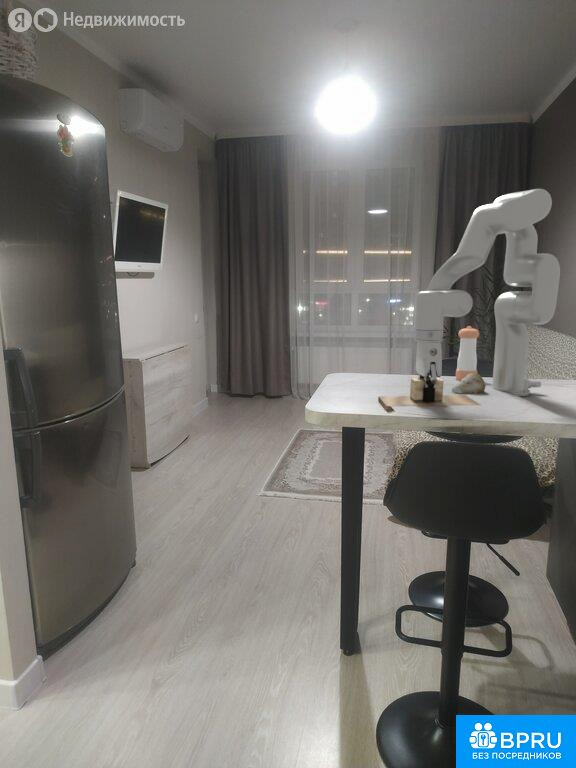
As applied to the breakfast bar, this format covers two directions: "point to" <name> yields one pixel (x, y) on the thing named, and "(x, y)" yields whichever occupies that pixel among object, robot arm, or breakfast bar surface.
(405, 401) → the plank
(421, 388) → the block
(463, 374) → the pepper shaker
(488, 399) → the breakfast bar surface
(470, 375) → the beige stone
